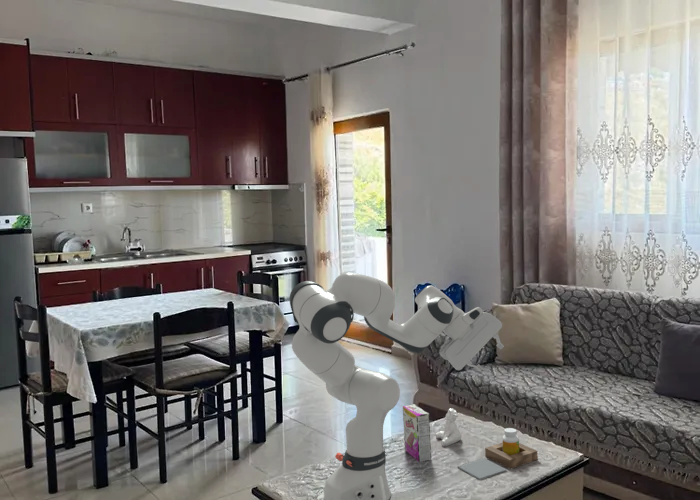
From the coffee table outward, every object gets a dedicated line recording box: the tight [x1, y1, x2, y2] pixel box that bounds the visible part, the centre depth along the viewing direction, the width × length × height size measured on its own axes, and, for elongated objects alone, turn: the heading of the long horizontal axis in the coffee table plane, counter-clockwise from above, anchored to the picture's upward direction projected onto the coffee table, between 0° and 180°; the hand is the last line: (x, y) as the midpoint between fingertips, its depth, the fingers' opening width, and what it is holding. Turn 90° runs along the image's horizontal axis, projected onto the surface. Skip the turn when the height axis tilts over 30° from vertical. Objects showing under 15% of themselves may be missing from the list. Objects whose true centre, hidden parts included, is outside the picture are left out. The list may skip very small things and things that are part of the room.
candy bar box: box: [402, 403, 432, 463], centre depth 227 cm, size 11×5×16 cm, turn 22°
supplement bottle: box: [502, 427, 520, 455], centre depth 222 cm, size 5×5×10 cm
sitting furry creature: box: [435, 407, 463, 447], centre depth 239 cm, size 10×9×12 cm
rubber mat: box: [457, 457, 508, 481], centre depth 215 cm, size 11×11×1 cm
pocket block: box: [484, 442, 539, 470], centre depth 222 cm, size 12×12×3 cm
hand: (491, 358), depth 205 cm, fingers open, 8 cm apart
